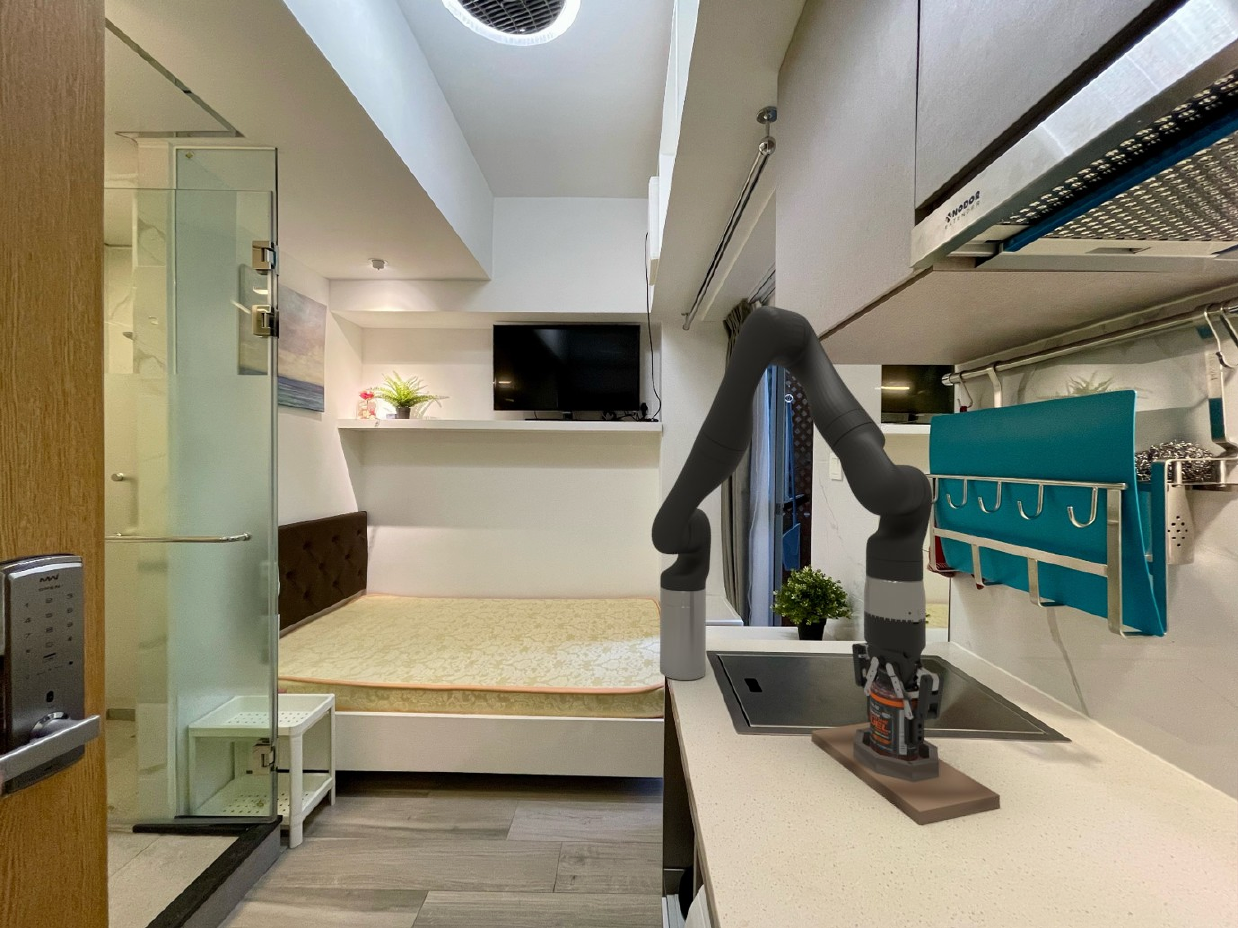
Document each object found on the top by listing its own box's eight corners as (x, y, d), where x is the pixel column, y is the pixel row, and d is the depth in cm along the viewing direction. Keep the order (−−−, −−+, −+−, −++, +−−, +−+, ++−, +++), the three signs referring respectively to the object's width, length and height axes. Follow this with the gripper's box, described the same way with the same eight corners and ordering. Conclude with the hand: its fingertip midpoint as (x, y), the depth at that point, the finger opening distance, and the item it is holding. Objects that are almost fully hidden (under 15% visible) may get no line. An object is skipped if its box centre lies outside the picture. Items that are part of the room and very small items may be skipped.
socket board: (811, 740, 80) (811, 717, 80) (877, 730, 84) (877, 708, 84) (919, 824, 61) (919, 793, 61) (999, 807, 64) (999, 778, 64)
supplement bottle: (860, 746, 74) (859, 664, 74) (892, 738, 76) (892, 659, 77) (895, 768, 69) (895, 680, 69) (929, 759, 71) (929, 674, 71)
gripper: (835, 599, 79) (835, 714, 78) (914, 626, 65) (914, 765, 65) (877, 596, 81) (877, 708, 80) (962, 622, 67) (963, 757, 67)
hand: (894, 733), depth 73 cm, fingers closed on supplement bottle, 6 cm apart
